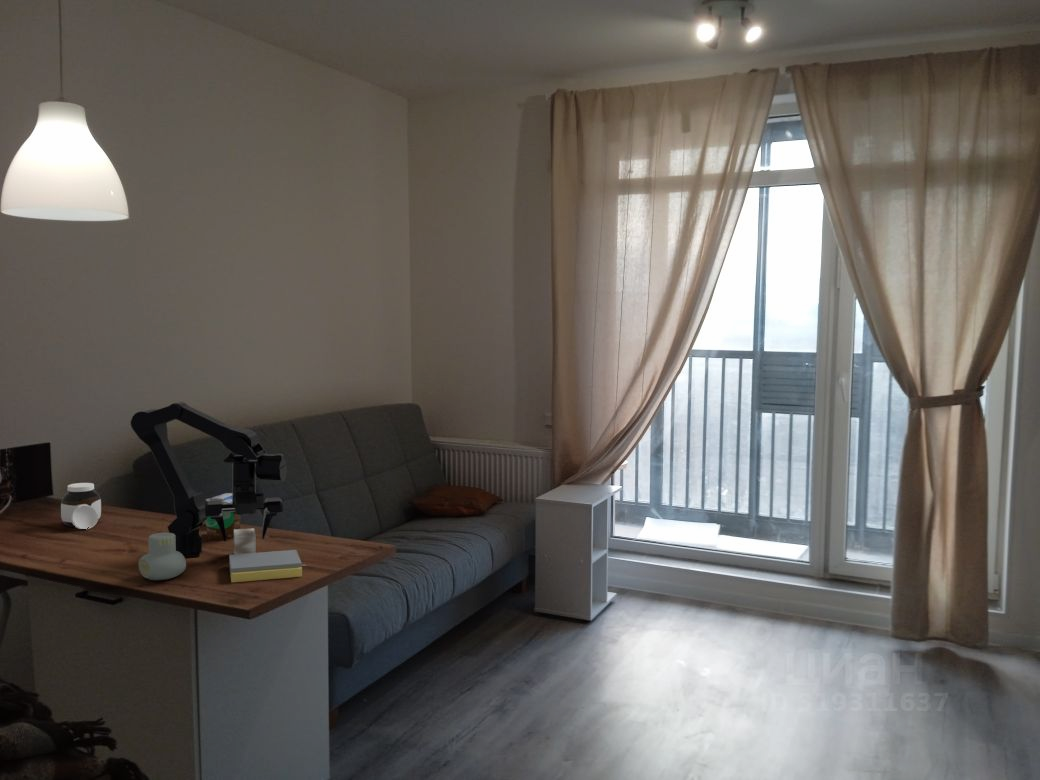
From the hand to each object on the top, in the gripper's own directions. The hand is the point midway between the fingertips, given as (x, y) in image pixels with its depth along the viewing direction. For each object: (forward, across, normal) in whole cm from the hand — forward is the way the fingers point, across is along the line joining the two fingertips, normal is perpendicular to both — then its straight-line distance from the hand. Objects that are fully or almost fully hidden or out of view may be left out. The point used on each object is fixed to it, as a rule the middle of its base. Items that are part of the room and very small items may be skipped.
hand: (244, 539), depth 215 cm
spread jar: (+5, -42, +45) cm, 62 cm away
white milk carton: (+4, 0, 0) cm, 5 cm away
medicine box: (+5, -4, +36) cm, 37 cm away
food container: (+5, -6, +21) cm, 22 cm away
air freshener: (+5, -19, -12) cm, 23 cm away
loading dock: (+4, +4, -14) cm, 15 cm away
